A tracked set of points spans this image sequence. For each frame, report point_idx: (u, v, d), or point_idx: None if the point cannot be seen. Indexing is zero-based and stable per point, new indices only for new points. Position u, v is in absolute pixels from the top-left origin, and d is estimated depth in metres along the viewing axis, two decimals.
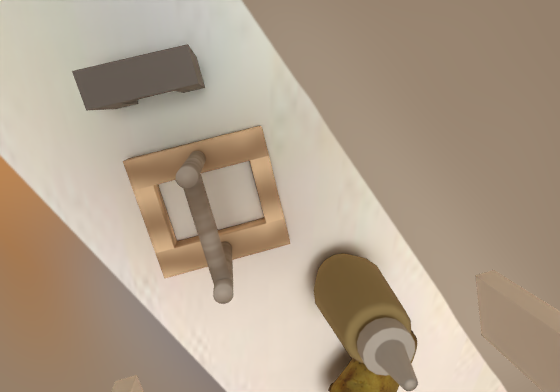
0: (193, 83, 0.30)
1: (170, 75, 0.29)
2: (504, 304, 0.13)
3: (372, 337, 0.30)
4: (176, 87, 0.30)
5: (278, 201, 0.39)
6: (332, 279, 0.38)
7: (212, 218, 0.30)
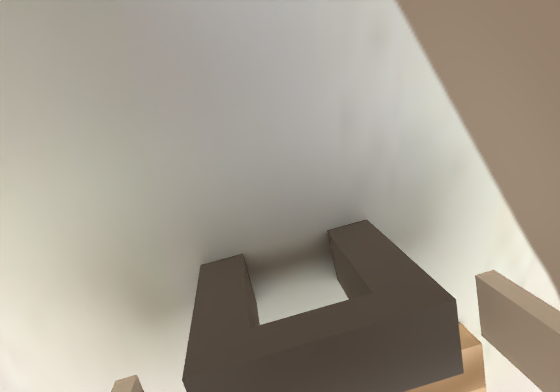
0: (452, 374, 0.13)
1: (406, 364, 0.12)
2: (504, 304, 0.13)
3: None
4: (414, 386, 0.13)
5: None
6: None
7: None
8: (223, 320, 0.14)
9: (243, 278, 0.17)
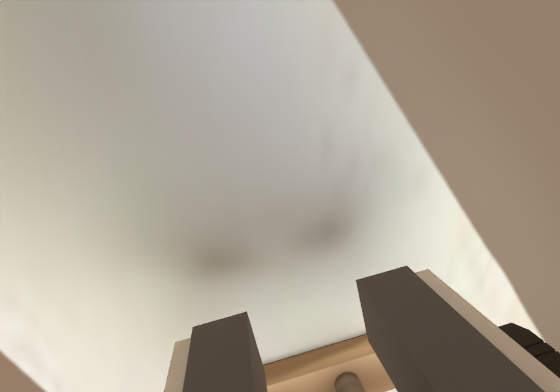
0: None
1: None
2: None
3: None
4: None
5: None
6: None
7: None
8: None
9: (249, 355, 0.12)
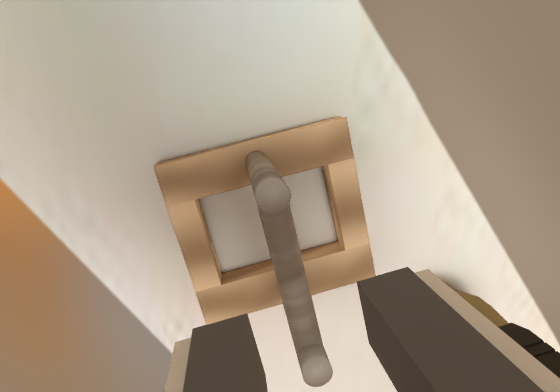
0: None
1: None
2: None
3: None
4: None
5: (363, 220, 0.29)
6: None
7: (300, 256, 0.20)
8: None
9: (249, 357, 0.12)
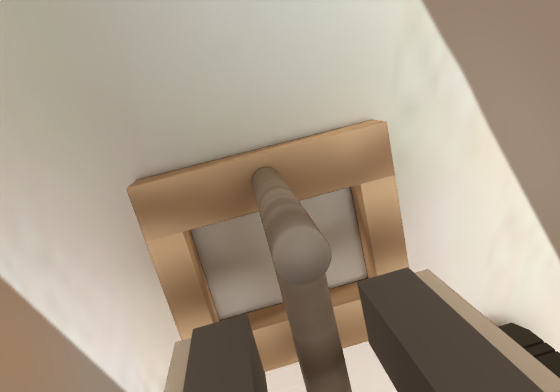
0: None
1: None
2: None
3: None
4: None
5: (404, 255, 0.22)
6: None
7: (338, 335, 0.13)
8: None
9: (249, 357, 0.12)
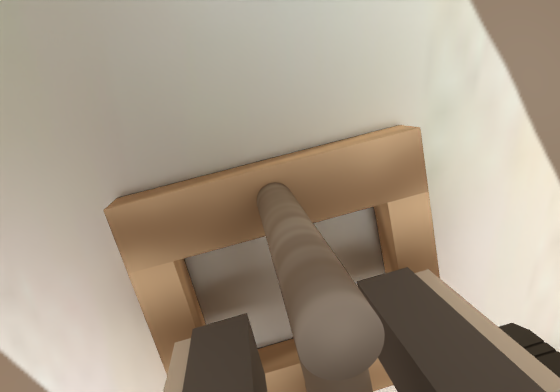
0: None
1: None
2: None
3: None
4: None
5: None
6: None
7: None
8: None
9: (249, 357, 0.12)
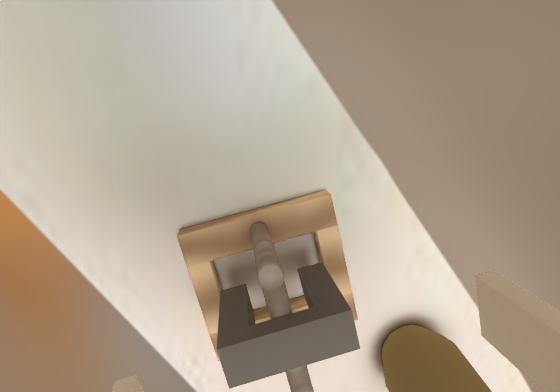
0: (354, 349, 0.25)
1: (328, 343, 0.24)
2: (504, 304, 0.13)
3: None
4: (334, 355, 0.25)
5: (346, 274, 0.35)
6: (411, 365, 0.33)
7: None
8: (235, 322, 0.26)
9: (246, 299, 0.29)
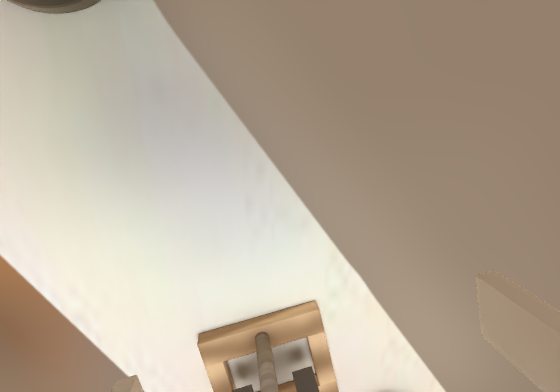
0: None
1: None
2: (504, 304, 0.13)
3: None
4: None
5: (331, 367, 0.44)
6: None
7: None
8: None
9: None
